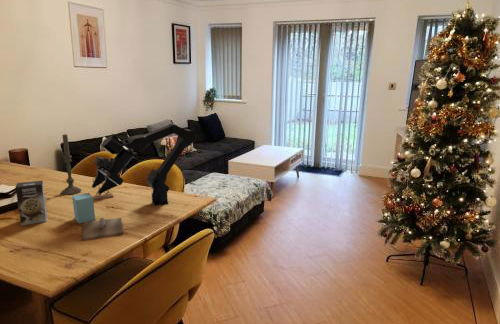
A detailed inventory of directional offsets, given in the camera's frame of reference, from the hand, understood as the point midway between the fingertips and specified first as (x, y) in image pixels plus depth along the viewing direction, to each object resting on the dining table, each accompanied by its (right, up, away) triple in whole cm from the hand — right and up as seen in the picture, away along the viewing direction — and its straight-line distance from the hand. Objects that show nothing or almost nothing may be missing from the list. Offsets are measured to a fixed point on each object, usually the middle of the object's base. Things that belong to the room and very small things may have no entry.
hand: (95, 190), depth 146 cm
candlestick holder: (-26, -4, +32) cm, 41 cm away
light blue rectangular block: (-4, -12, 0) cm, 13 cm away
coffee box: (-24, -13, -3) cm, 27 cm away
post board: (+7, -15, -9) cm, 19 cm away
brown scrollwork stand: (-7, -6, +25) cm, 26 cm away
